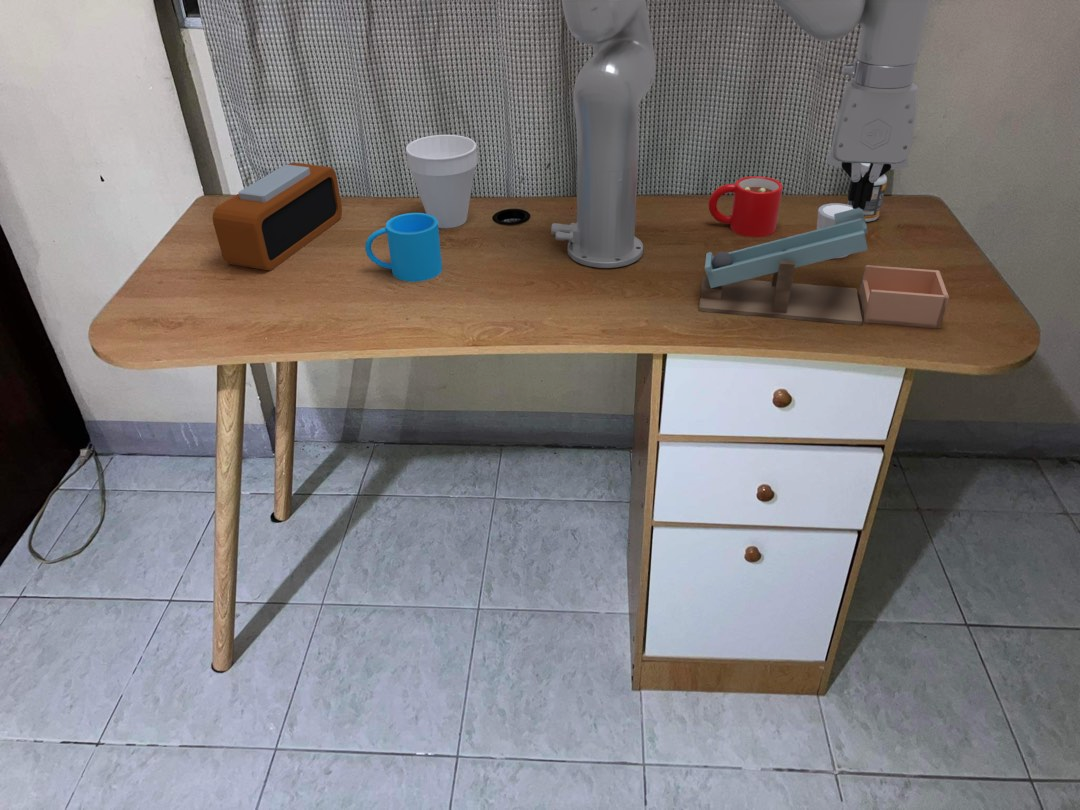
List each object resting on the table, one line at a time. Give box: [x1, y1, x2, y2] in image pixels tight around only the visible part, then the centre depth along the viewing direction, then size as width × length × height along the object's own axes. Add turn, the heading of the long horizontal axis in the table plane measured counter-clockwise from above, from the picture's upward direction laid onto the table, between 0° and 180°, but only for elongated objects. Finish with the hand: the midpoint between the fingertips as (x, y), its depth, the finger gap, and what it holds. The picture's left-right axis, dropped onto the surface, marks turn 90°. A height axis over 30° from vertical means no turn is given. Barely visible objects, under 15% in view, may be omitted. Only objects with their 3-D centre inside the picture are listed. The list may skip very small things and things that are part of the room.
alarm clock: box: [212, 162, 343, 272], centre depth 142 cm, size 24×8×11 cm, turn 159°
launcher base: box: [698, 235, 863, 326], centre depth 122 cm, size 23×10×8 cm, turn 78°
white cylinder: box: [815, 202, 853, 259], centre depth 136 cm, size 7×7×7 cm
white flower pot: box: [405, 134, 479, 229], centre depth 147 cm, size 12×12×14 cm
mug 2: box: [708, 175, 783, 238], centre depth 144 cm, size 8×12×8 cm, turn 82°
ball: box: [712, 251, 733, 269], centre depth 123 cm, size 3×3×3 cm
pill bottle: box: [847, 163, 888, 223], centre depth 146 cm, size 6×6×10 cm
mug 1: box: [364, 212, 443, 283], centre depth 133 cm, size 12×8×8 cm
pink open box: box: [858, 264, 950, 330], centre depth 120 cm, size 10×8×5 cm
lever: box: [704, 208, 869, 288], centre depth 122 cm, size 22×13×4 cm, turn 78°
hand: (857, 205), depth 121 cm, fingers closed
